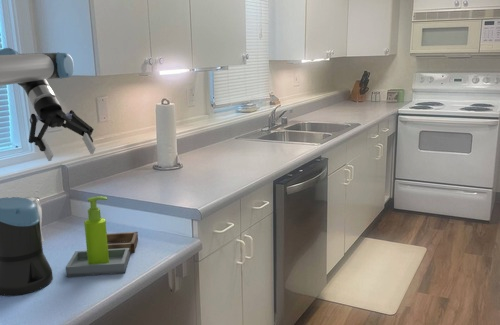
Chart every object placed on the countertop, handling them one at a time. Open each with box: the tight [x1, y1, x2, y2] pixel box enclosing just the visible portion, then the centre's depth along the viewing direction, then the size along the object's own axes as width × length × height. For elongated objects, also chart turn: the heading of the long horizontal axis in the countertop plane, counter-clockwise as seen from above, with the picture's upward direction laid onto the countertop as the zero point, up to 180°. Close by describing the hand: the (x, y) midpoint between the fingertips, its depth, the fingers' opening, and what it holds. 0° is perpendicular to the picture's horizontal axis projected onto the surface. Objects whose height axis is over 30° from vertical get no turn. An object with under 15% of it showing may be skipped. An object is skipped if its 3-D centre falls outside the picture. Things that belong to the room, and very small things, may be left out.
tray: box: [65, 248, 131, 278], centre depth 144 cm, size 16×12×3 cm
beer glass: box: [25, 196, 45, 243], centre depth 164 cm, size 7×7×15 cm
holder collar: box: [107, 231, 139, 254], centre depth 159 cm, size 12×11×3 cm
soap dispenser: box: [84, 196, 109, 264], centre depth 143 cm, size 6×7×20 cm
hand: (72, 154), depth 149 cm, fingers open, 13 cm apart
